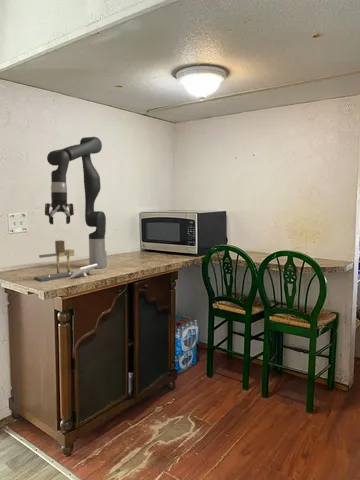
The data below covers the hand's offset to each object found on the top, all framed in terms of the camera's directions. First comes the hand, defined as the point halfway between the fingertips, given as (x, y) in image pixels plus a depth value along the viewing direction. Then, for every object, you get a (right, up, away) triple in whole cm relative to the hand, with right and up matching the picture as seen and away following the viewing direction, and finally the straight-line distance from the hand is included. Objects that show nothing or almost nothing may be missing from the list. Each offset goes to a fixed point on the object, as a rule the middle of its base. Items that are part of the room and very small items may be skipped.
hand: (59, 224), depth 187 cm
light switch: (+10, -27, +8) cm, 30 cm away
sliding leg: (-1, -25, +4) cm, 25 cm away
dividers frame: (-3, -26, +3) cm, 26 cm away
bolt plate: (-3, -27, +4) cm, 28 cm away
